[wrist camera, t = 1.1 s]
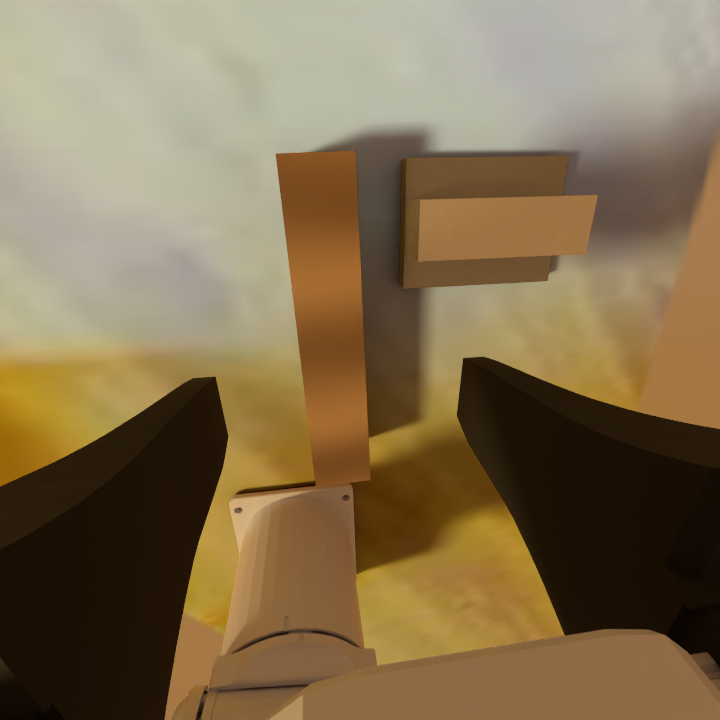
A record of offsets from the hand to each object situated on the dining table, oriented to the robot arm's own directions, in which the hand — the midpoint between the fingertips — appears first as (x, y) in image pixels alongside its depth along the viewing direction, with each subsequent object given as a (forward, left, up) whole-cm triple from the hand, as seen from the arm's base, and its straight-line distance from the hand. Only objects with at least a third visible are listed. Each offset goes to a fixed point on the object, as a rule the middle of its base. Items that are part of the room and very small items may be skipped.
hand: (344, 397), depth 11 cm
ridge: (+4, -8, -10) cm, 14 cm away
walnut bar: (-1, 0, -11) cm, 11 cm away
